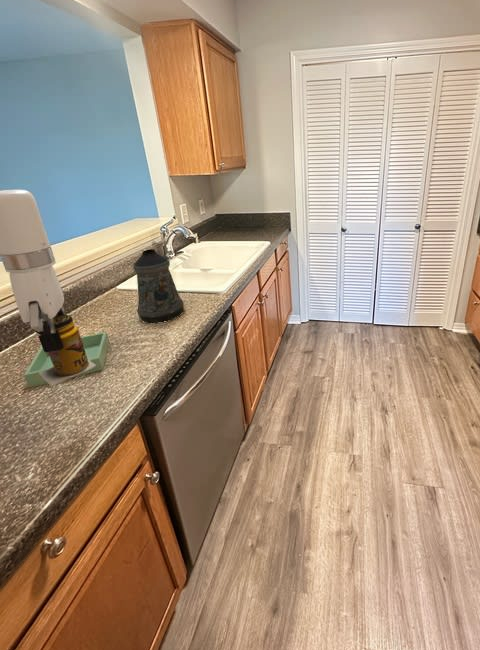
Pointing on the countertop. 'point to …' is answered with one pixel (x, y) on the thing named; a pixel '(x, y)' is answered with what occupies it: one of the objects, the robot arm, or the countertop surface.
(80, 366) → the condiment
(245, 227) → the countertop surface
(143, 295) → the beer stein
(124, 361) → the countertop surface
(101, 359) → the tray
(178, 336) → the countertop surface
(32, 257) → the robot arm
